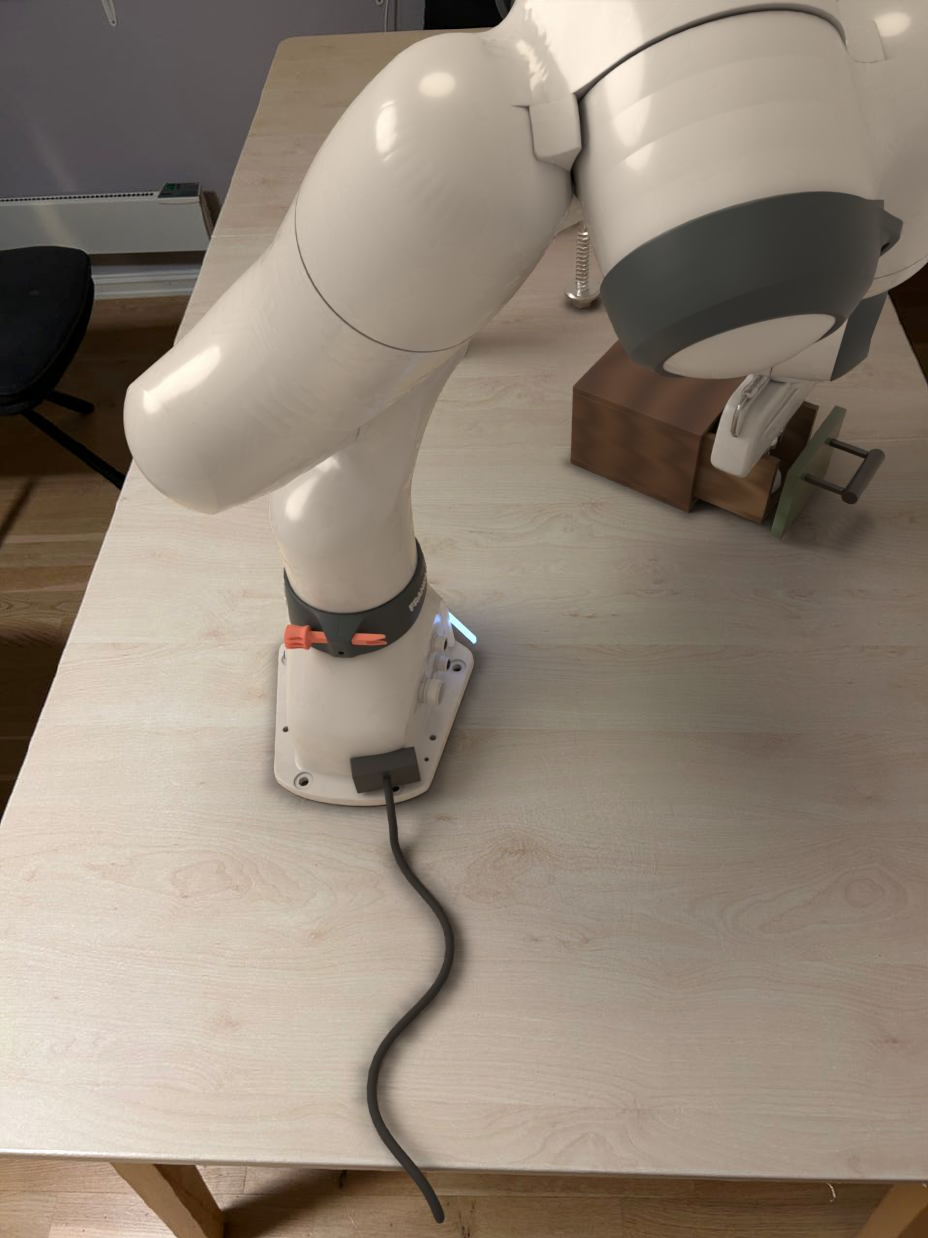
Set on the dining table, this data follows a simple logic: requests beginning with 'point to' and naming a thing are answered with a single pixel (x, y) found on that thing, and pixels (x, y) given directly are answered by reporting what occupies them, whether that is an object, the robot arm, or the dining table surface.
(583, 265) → the screw
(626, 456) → the cabinet
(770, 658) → the dining table surface
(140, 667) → the dining table surface
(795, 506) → the drawer
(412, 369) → the robot arm
